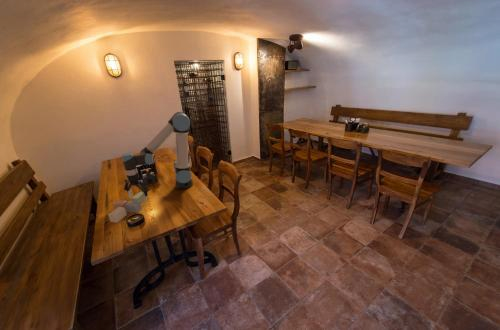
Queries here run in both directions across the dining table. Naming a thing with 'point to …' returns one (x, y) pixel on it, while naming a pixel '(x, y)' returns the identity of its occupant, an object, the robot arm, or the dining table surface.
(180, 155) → the robot arm
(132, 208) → the slate brick
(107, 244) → the dining table surface
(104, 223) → the dining table surface
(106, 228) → the dining table surface
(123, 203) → the terracotta brick
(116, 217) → the cream brick
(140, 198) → the green brick
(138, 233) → the dining table surface
